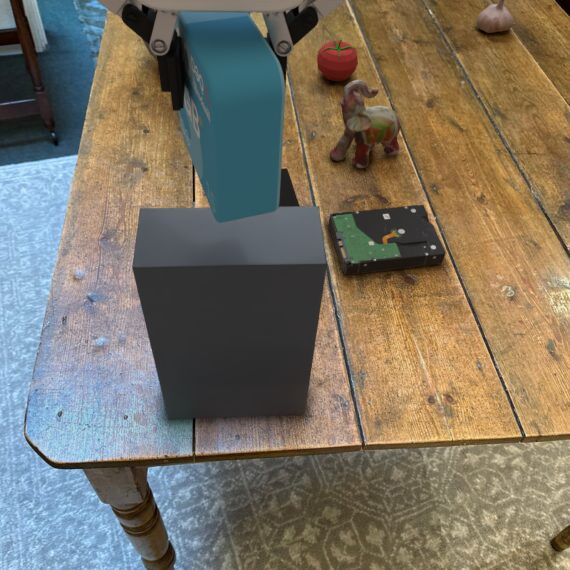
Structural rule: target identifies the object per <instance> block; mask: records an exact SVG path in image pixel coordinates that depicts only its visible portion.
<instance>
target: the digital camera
mask: <svg viewBox="0 0 570 570" xmlns="http://www.w3.org/2000/svg"><path fill="white" fill-rule="evenodd" d="M279 207H300V203H299V200H298V197H297V193H296V191H295V188H294V185H293V182H292V179H291V176H290V173H289V169H288V168H281V181H280V199H279Z"/></svg>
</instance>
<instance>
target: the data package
mask: <svg viewBox="0 0 570 570" xmlns="http://www.w3.org/2000/svg"><path fill="white" fill-rule="evenodd" d="M175 30H176V32H177V35H178V36H180V38H181V49H182V60H183V71H184V82H185V92H184V108H181V110H180V111H178V120H179V121H178V122H179V126H180V127H179V128H180V131H181V136H182V139H183V143H184V145H185V147H186V149H187V152H188V155H189V157H190V160H191V163H192V165H193V167H194V170H195V173H196V175H197V178H198V180H199V182H200V185H201V187H202V190H203V192H204V195H205V197H206V200H207V202H208V205H209V208H211V210H212V213H213V215H214V217H215V219H216V221H217V222H219V223H223V222H228V221H232V220H237V219H242V218H246V217H251V216H256V215H260V214H265V213H270V212H274V211H276V210H277V209H278V207H279V199H280V181H281V169H282V164H283V163H282V161H283V143H284V127H285V126H284V125H285V108H286V107H285V106H286V88H285V81H284V75H283V71H282V68H281V65H280V62H279V60H278V59H277V57H276V55H275V54H274V52H273V51H272V49H271V48H270V46H269V44H268V43H267V41H266V40H265V38H264V37H265V36H264V35H263V34H262V32H261V30H260V29H259V27H258V25H257V24H256V22H255V21H254V19H253V17H252V16H251V14H250V15H249V13H234V12H179V15H178V19H177V23H176V26H175Z"/></svg>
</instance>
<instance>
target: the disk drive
mask: <svg viewBox="0 0 570 570" xmlns="http://www.w3.org/2000/svg"><path fill="white" fill-rule="evenodd" d="M328 227H329V231H330V234H331V238H332V241H333V244H334V246H335V250H336V253H337V257H338V260H339V263H340V266H341V269H342V272H343V275H357V274H364V273H376V272H385V271H391V270H401V269H411V268H418V267H426V266H434V265H439V264H440V265H441V264H443V261H444V259H445V256H446V254H447V252H446V250H445V248H444V246H443V243H442V242H441V239H440V236H439V235H438V233H437V230H436V228H435V226H434V224H432V223H431V222H430V219H429V213H428V211H427V209H426V207H425V205H424V204H414V205H413V204H412V205H406V206H396V207H395V206H394V207H385V208H374V209H365V210H363V209H362V210H356V211H355V210H353V211H342V212H335V213H330V214H329V219H328Z"/></svg>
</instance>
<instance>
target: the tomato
mask: <svg viewBox="0 0 570 570" xmlns="http://www.w3.org/2000/svg"><path fill="white" fill-rule="evenodd" d="M316 63H317V64H316V65H317V69H318V71H319V72H320V73H321V75H322V76H323V77H324V78H325V79H327V80H329V81H333V82H342V81H344V80H347V79H348V78H350V77H351V76H352V75H353V74H354V73H355V71H356V70H357V67H358V64H359V58H358V52H357V48H356V47H354V46H352V44H350V43H348V42H346V41H344V40H343V39H342V38H340V40H331V41H328V42H326V43H324V44H323V45H322V46H321V47H320V48H319V50H318V52H317V55H316Z"/></svg>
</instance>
